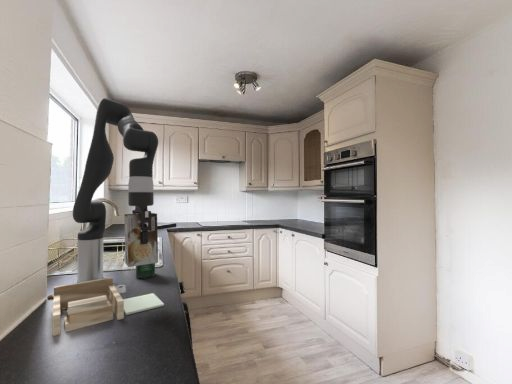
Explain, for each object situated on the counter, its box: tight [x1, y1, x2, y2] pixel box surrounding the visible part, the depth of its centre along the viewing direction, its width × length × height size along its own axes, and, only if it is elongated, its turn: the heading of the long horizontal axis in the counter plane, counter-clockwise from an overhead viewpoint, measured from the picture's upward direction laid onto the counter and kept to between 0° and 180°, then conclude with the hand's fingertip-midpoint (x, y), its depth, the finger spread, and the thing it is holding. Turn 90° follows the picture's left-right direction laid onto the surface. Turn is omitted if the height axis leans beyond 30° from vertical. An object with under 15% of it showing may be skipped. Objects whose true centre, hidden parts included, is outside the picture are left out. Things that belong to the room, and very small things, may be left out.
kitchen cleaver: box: [47, 284, 127, 301], centre depth 94 cm, size 24×1×10 cm
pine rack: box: [52, 276, 125, 337], centre depth 79 cm, size 20×16×7 cm
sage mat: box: [122, 292, 165, 316], centre depth 86 cm, size 12×11×1 cm
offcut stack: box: [63, 295, 114, 333], centre depth 74 cm, size 5×11×6 cm, turn 129°
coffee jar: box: [135, 263, 156, 279], centre depth 117 cm, size 10×8×19 cm
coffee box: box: [124, 212, 159, 268], centre depth 86 cm, size 9×6×16 cm
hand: (141, 242), depth 86 cm, fingers closed on coffee box, 6 cm apart
